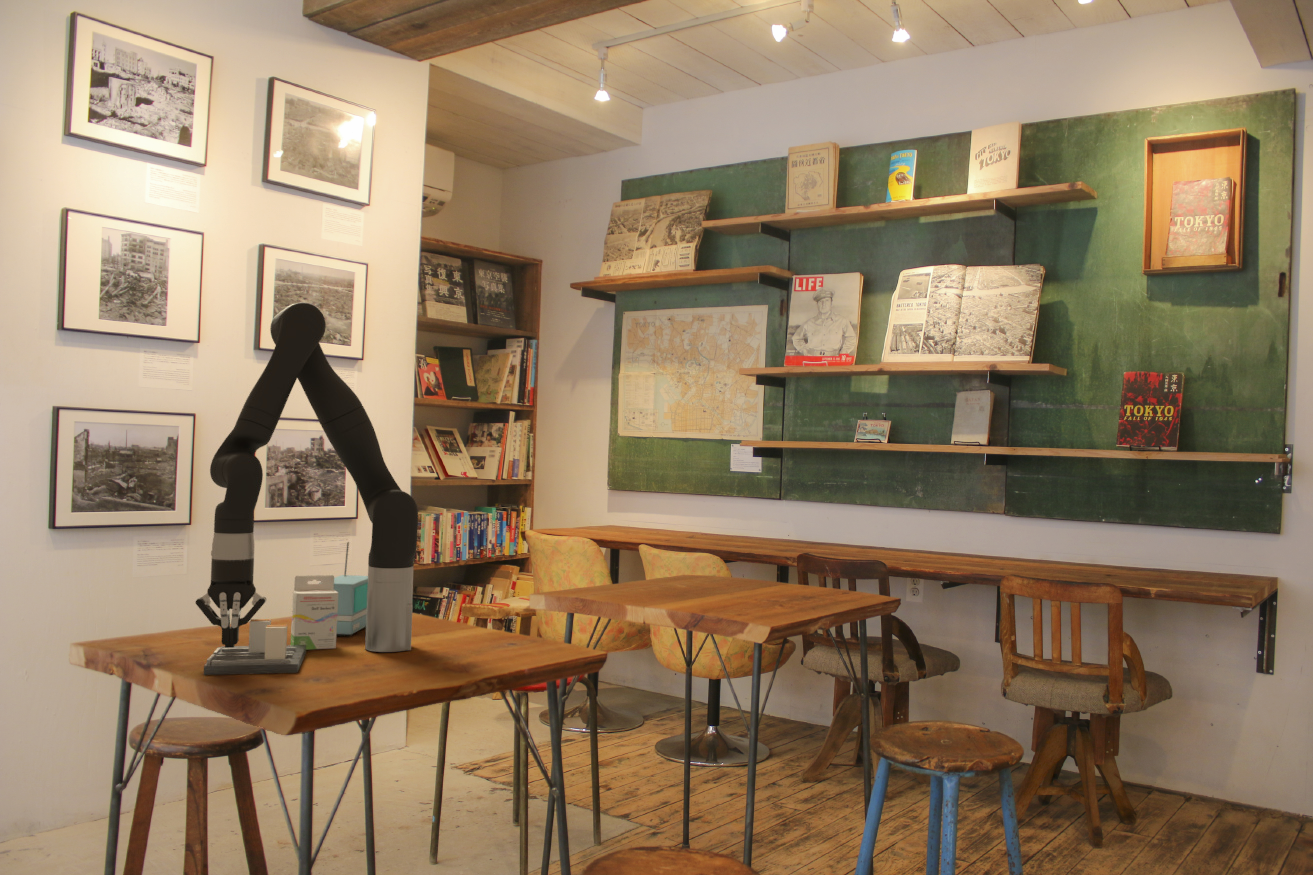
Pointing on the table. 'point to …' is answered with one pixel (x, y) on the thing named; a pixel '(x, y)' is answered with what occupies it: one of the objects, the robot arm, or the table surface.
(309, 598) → the ink box
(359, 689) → the table surface
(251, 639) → the fader far
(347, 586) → the radio
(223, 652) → the gray slotted tray
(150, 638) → the table surface
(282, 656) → the fader near
